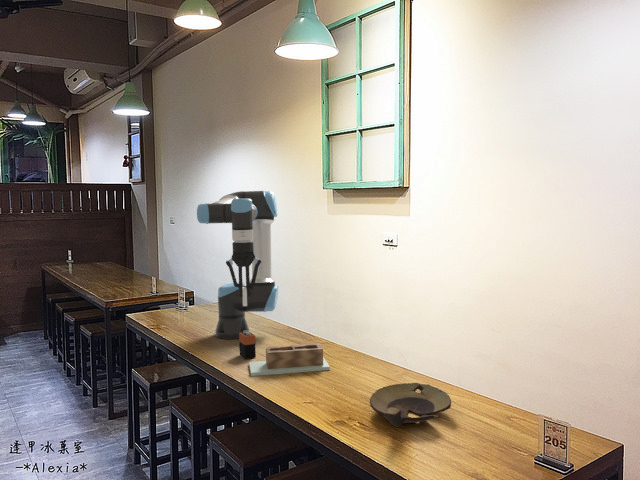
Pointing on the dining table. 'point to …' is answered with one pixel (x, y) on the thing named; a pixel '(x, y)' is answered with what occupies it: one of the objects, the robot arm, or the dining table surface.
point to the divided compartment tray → (294, 356)
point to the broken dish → (409, 402)
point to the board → (262, 369)
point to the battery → (247, 344)
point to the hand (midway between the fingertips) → (244, 305)
